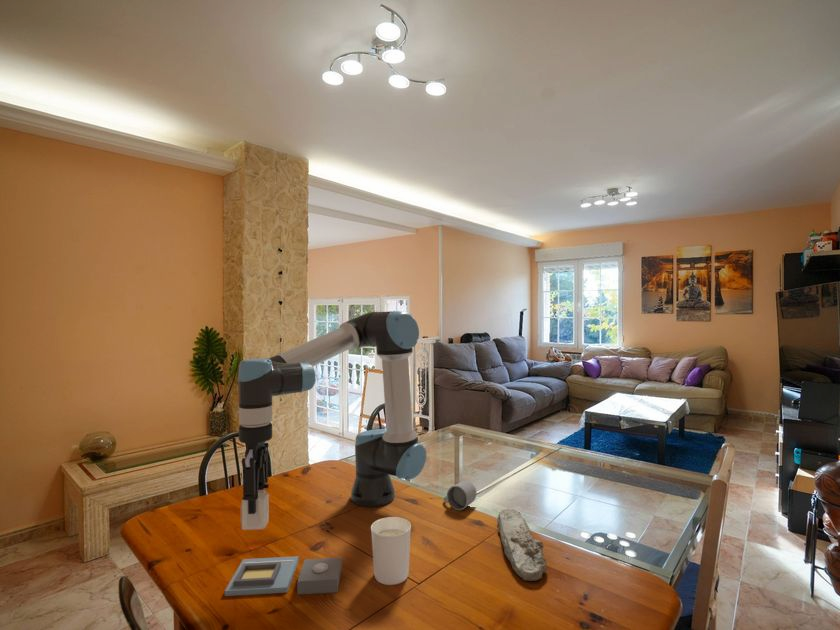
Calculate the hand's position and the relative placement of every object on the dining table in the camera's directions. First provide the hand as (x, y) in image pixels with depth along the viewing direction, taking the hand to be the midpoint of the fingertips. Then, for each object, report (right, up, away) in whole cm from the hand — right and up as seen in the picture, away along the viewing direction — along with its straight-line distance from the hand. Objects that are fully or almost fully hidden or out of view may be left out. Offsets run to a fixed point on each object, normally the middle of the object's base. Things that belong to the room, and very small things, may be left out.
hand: (256, 520), depth 105 cm
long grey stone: (+66, -14, +15) cm, 70 cm away
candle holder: (+32, -14, +2) cm, 35 cm away
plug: (0, -1, 0) cm, 1 cm away
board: (+1, -15, +2) cm, 15 cm away
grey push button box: (+15, -14, 0) cm, 21 cm away
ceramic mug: (+52, -14, +41) cm, 68 cm away
